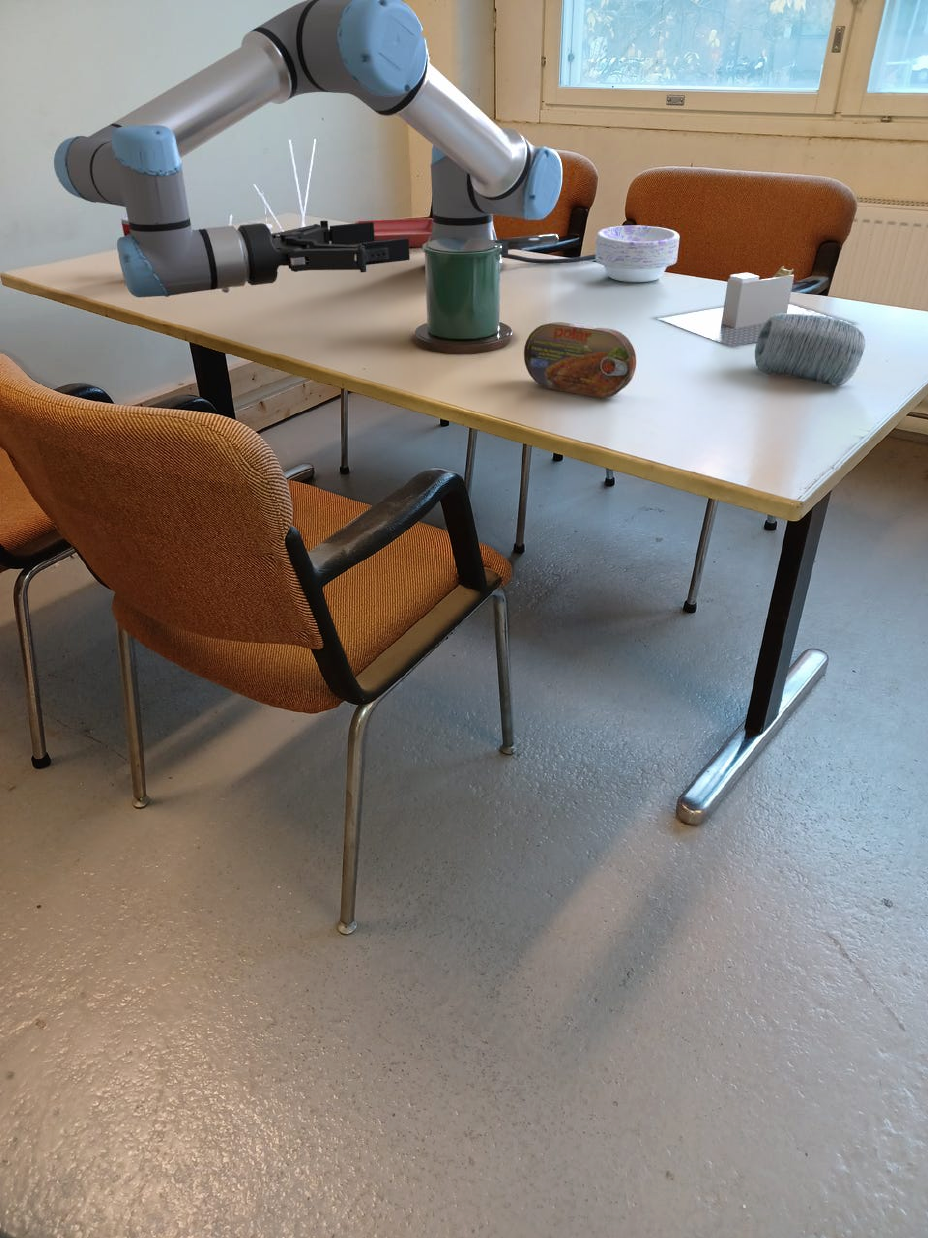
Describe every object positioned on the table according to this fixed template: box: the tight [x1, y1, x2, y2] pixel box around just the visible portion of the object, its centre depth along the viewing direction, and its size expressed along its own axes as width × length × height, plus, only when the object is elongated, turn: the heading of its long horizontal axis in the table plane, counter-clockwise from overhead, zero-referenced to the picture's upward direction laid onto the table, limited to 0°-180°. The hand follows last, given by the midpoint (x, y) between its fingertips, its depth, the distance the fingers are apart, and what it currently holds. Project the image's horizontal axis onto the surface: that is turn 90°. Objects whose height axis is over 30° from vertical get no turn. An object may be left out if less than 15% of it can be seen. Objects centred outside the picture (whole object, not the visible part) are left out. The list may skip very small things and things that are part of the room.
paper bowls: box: [594, 224, 680, 283], centre depth 165 cm, size 15×15×8 cm
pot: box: [422, 233, 559, 339], centre depth 133 cm, size 22×12×12 cm, turn 114°
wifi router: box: [228, 138, 317, 233], centre depth 178 cm, size 25×22×22 cm
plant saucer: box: [355, 217, 433, 248], centre depth 197 cm, size 18×18×3 cm
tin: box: [523, 321, 637, 399], centre depth 113 cm, size 15×3×8 cm, turn 58°
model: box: [720, 265, 795, 329], centre depth 140 cm, size 3×11×8 cm, turn 118°
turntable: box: [414, 321, 513, 355], centre depth 135 cm, size 15×15×1 cm
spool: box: [754, 313, 866, 386], centre depth 117 cm, size 14×10×10 cm
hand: (390, 239), depth 125 cm, fingers open, 13 cm apart
